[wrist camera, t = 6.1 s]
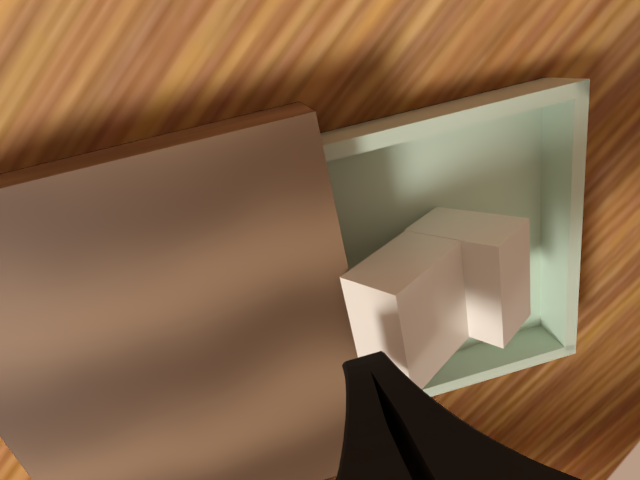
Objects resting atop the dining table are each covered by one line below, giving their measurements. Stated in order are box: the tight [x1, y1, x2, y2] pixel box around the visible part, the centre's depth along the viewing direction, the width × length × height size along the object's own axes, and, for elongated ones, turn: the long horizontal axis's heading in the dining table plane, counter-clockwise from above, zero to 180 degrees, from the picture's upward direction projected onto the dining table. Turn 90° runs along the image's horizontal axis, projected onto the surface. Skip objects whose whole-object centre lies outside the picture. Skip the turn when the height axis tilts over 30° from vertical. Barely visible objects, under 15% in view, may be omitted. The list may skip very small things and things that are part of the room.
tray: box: [320, 77, 590, 397], centre depth 19 cm, size 13×10×2 cm
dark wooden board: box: [0, 102, 358, 480], centre depth 18 cm, size 16×14×4 cm
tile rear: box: [404, 207, 531, 349], centre depth 17 cm, size 4×4×2 cm
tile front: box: [340, 231, 469, 389], centre depth 16 cm, size 4×4×2 cm
